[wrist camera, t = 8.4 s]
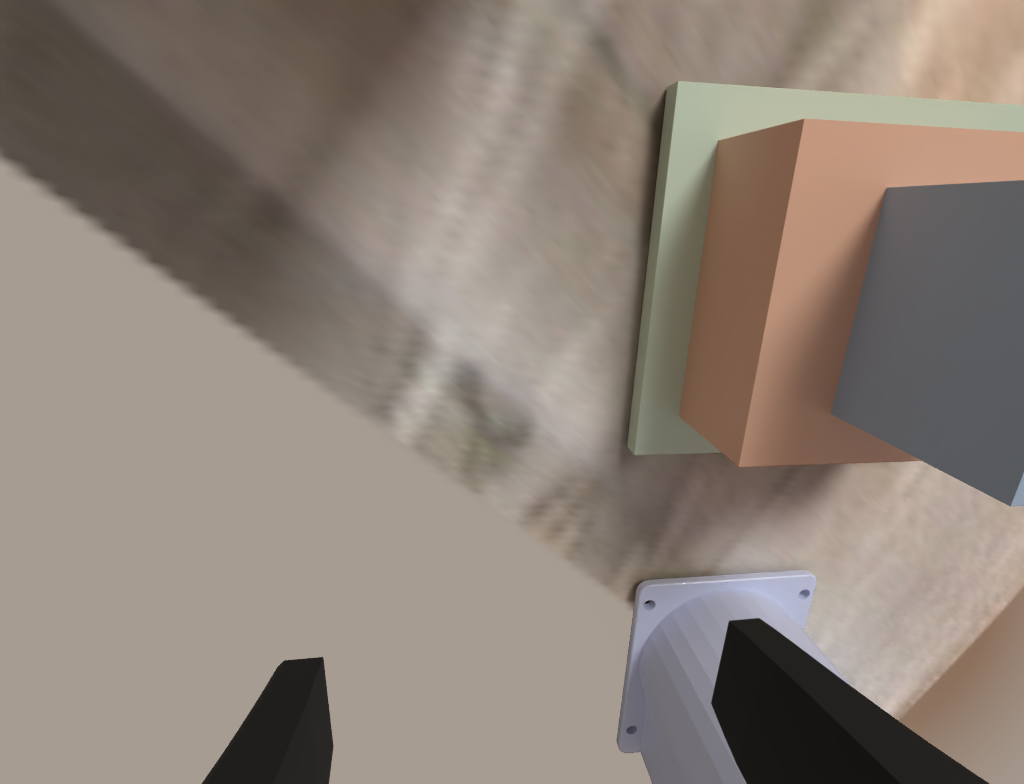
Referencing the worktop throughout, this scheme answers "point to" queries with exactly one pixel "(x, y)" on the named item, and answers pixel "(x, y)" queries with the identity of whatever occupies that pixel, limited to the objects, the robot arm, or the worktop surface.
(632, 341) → the worktop surface
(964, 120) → the tower base
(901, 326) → the blue brick
